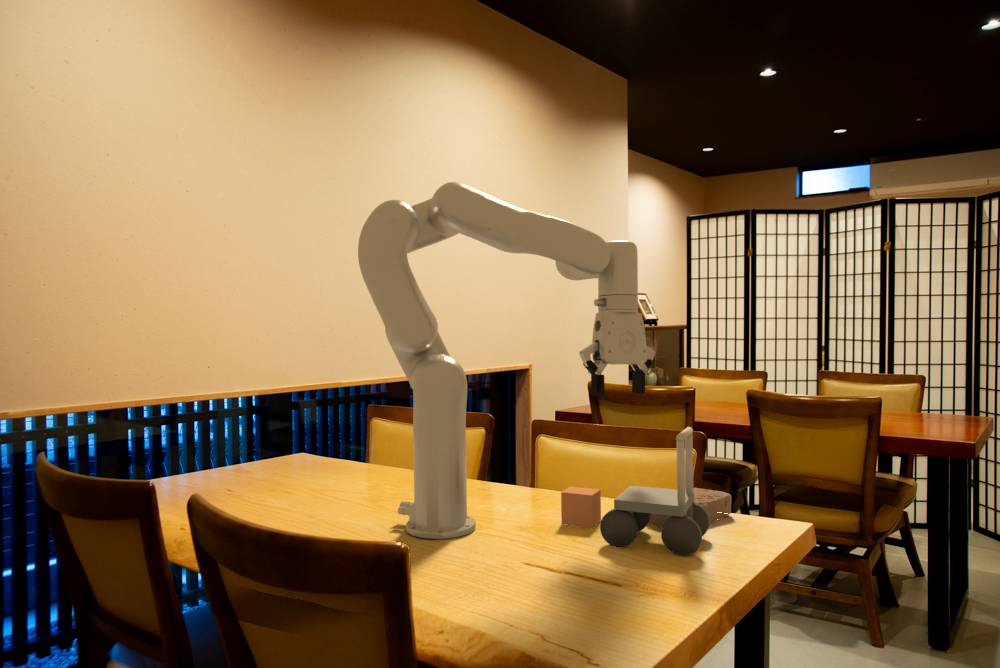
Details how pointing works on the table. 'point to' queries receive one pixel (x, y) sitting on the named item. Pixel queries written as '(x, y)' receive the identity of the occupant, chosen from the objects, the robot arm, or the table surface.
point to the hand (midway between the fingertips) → (618, 394)
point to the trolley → (661, 509)
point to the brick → (706, 499)
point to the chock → (581, 506)
